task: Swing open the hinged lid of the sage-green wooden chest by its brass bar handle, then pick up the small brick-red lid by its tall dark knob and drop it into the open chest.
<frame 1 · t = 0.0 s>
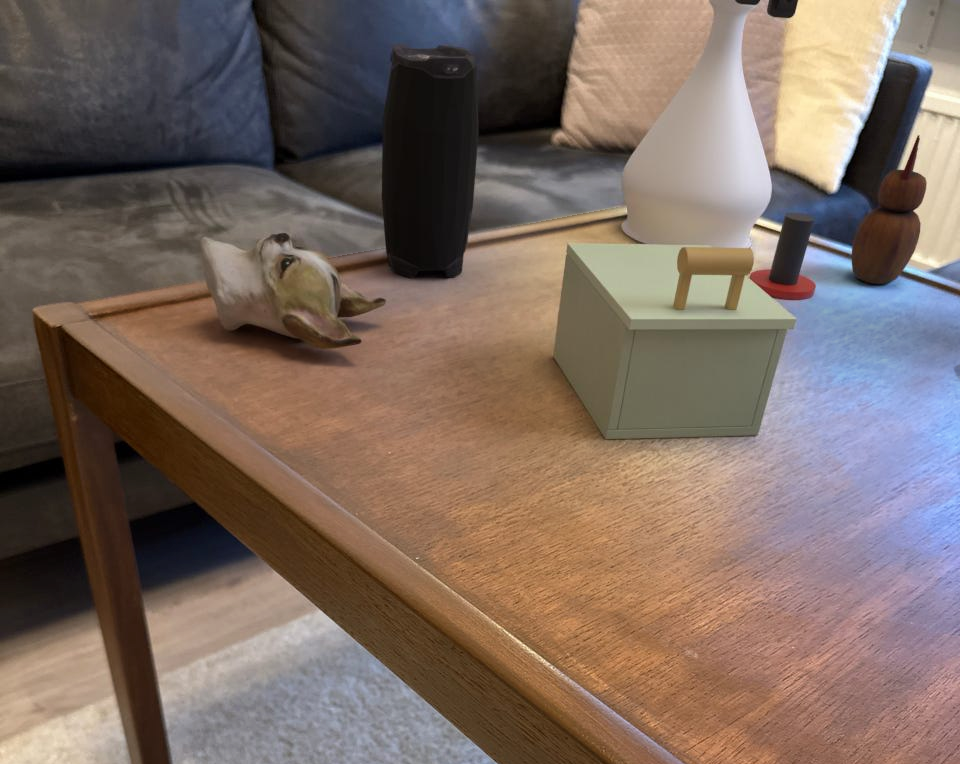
hand: (762, 10, 84), 25 cm above the table, tool pointing down, fingers open, 8 cm apart
ceramic sculpture: (291, 336, 85), on the table
portable speaker: (424, 269, 102), on the table
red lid: (780, 287, 105), on the table
chest: (649, 393, 81), on the table
wooden figurine: (872, 281, 110), on the table
vase: (685, 236, 118), on the table
chest lid: (679, 255, 74), point 11 cm above the table, hinge at 0.0°
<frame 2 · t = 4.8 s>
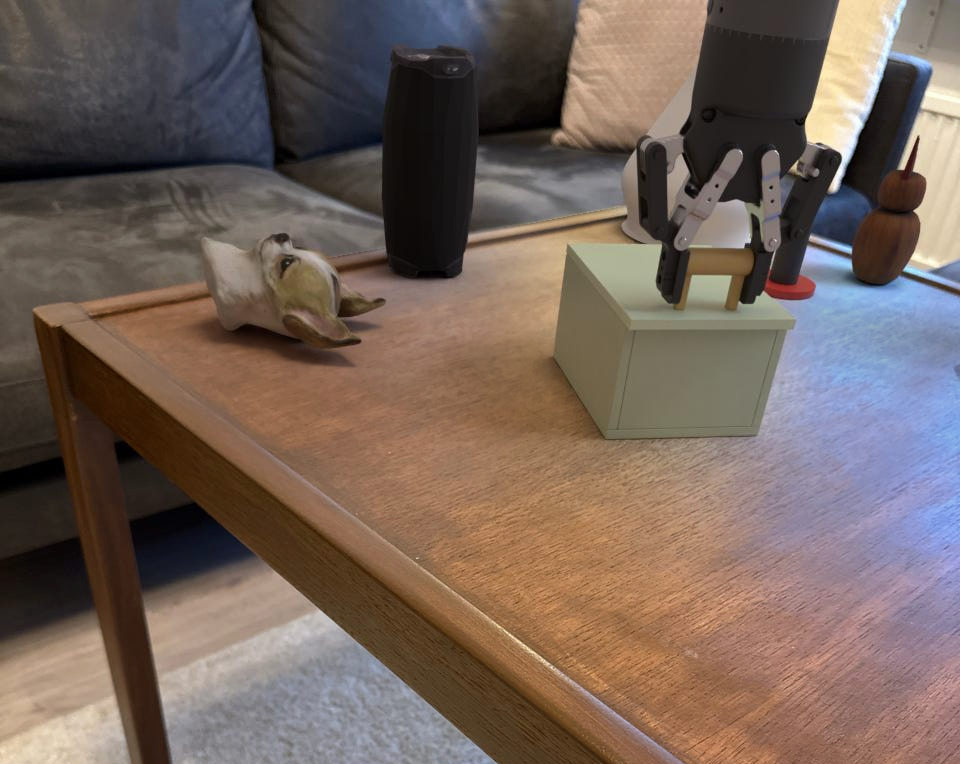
hand: (707, 299, 70), 10 cm above the table, tool pointing down, fingers closed on chest lid, 5 cm apart
chest lid: (679, 255, 74), point 11 cm above the table, hinge at -0.1°, touching gripper
everything else where it was.
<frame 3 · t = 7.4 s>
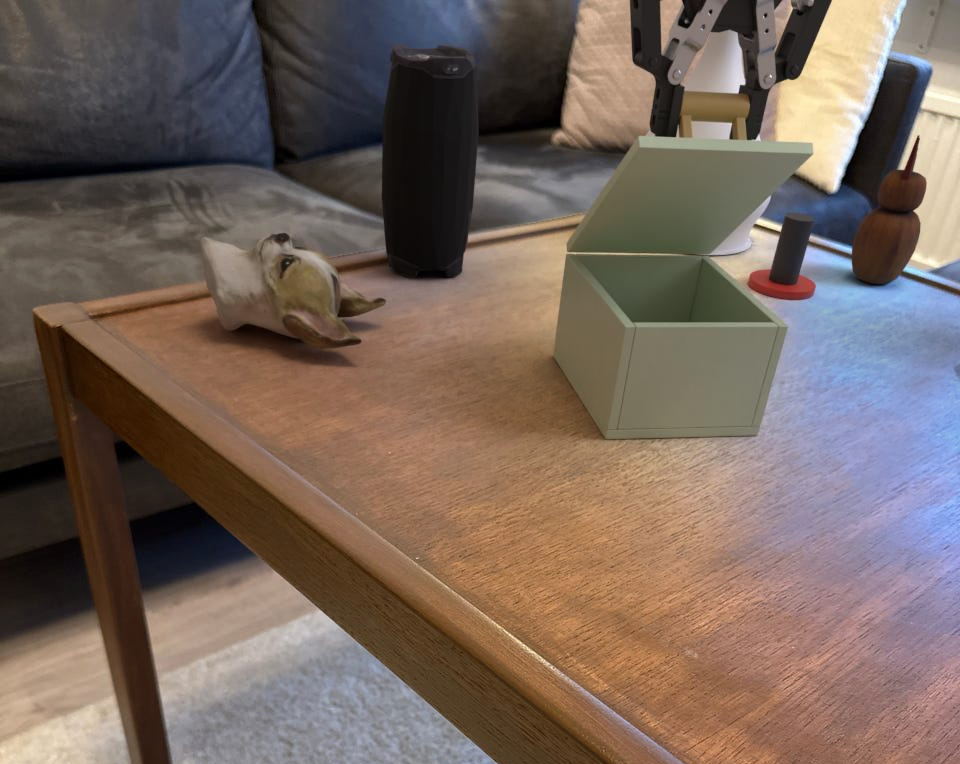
hand: (702, 143, 69), 19 cm above the table, tool pointing down, fingers closed on chest lid, 5 cm apart
chest lid: (676, 174, 74), point 16 cm above the table, hinge at 40.7°, touching gripper
everything else where it was.
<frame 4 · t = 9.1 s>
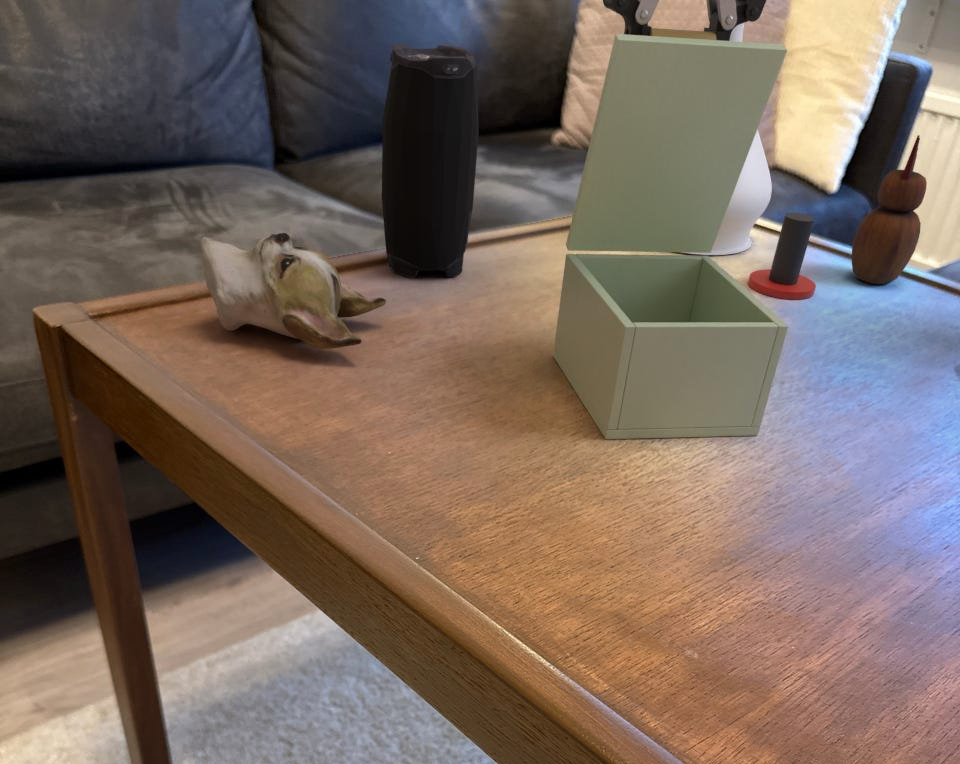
hand: (669, 83, 74), 21 cm above the table, tool pointing down, fingers closed on chest lid, 5 cm apart
chest lid: (660, 139, 76), point 18 cm above the table, hinge at 72.0°, touching gripper
everything else where it was.
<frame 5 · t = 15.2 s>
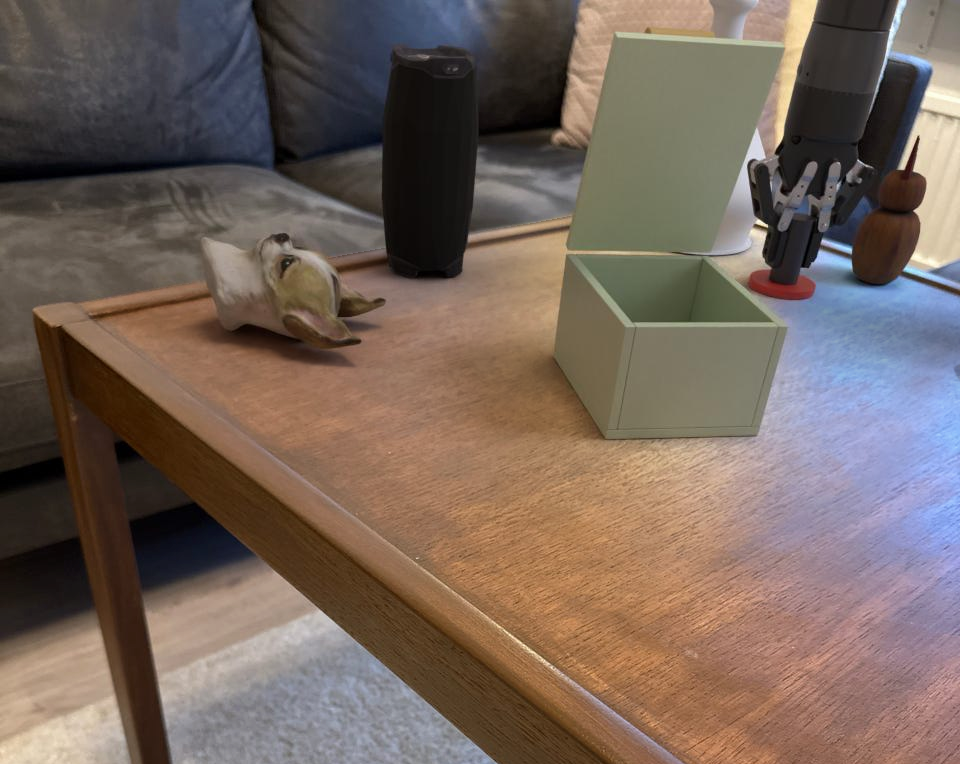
hand: (787, 264, 104), 2 cm above the table, tool pointing down, fingers closed on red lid, 3 cm apart
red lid: (780, 287, 105), on the table, touching gripper
chest lid: (660, 138, 76), point 18 cm above the table, hinge at 73.1°
everything else where it was.
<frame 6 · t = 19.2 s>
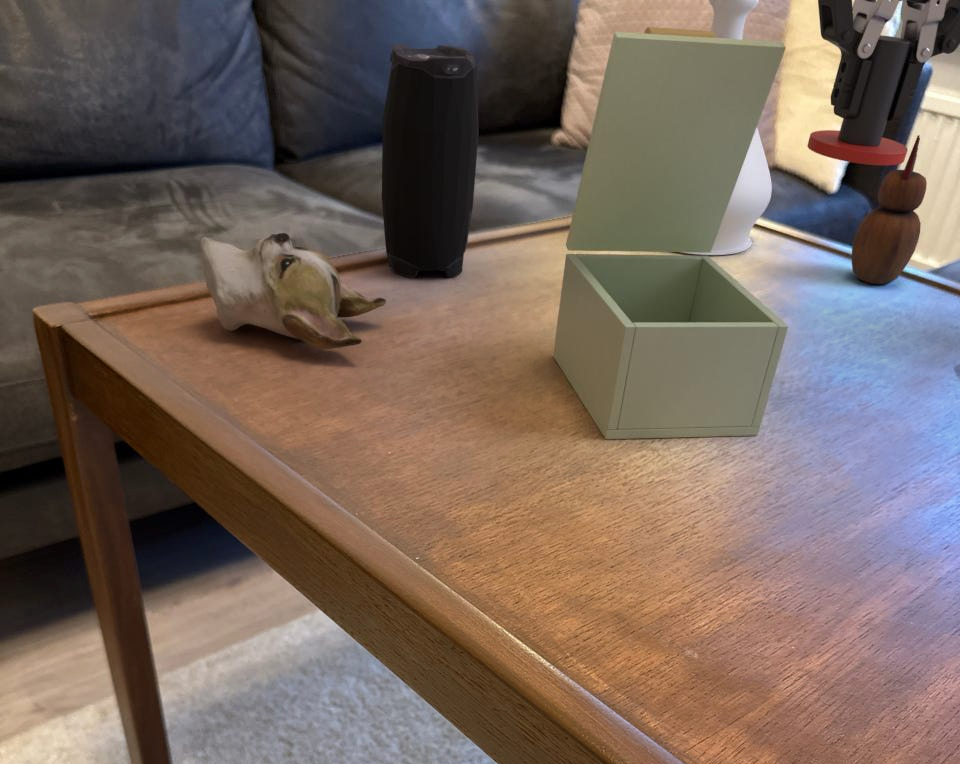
hand: (866, 116, 71), 21 cm above the table, tool pointing down, fingers closed on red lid, 3 cm apart
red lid: (855, 153, 72), point 19 cm above the table, touching gripper
everything else where it was.
when the fingers open (10 cm above the table, at t = 23.3 s): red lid drops 7 cm, resting on chest.
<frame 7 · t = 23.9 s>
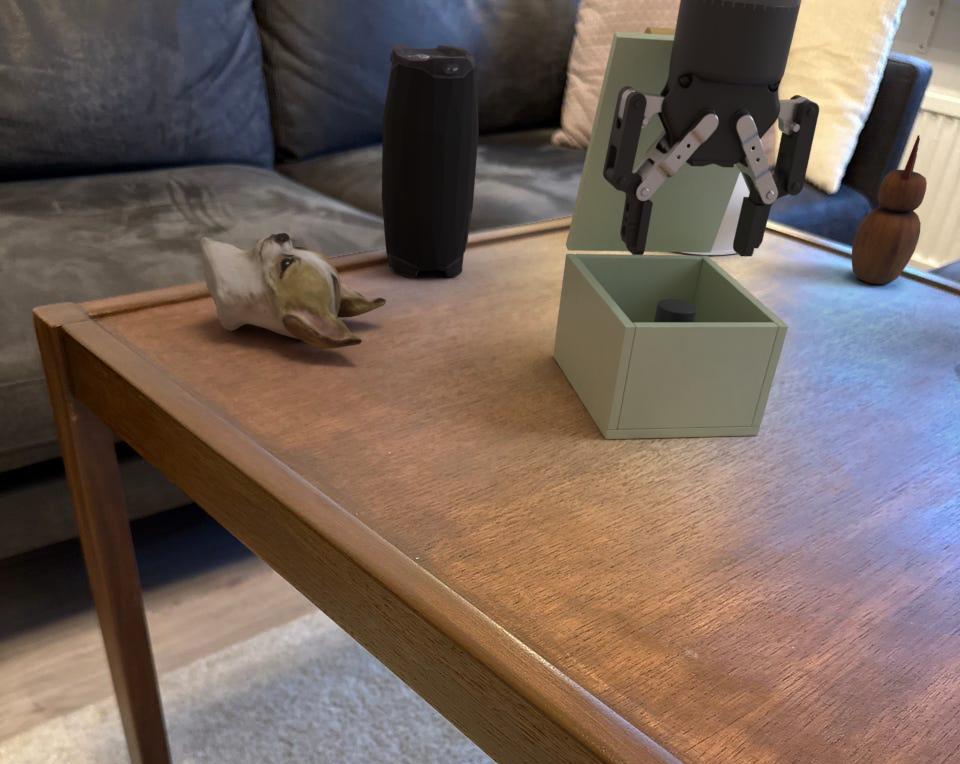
hand: (688, 252, 72), 12 cm above the table, tool pointing down, fingers open, 8 cm apart
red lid: (658, 395, 79), point 1 cm above the table, touching chest
everything else where it was.
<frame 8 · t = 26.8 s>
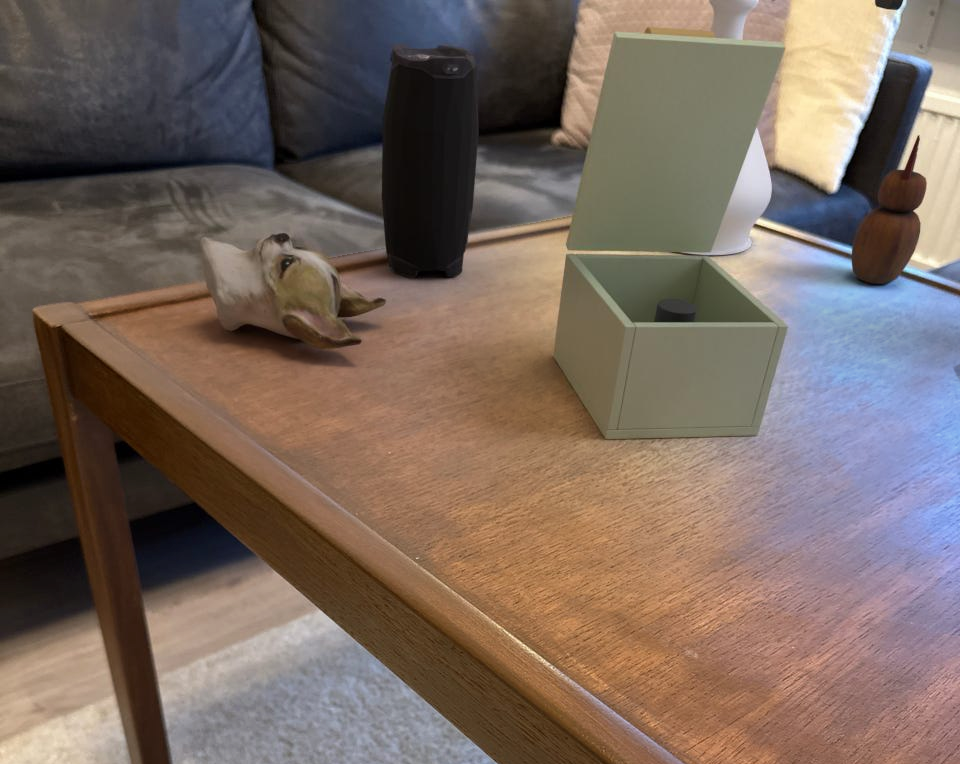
hand: (826, 3, 62), 28 cm above the table, tool pointing down, fingers open, 8 cm apart
nothing on the table moved.
at the end: chest lid at +73° (first picture: +0°); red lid inside the target area in the chest (2.0 cm from its centre), point 0.8 cm above the chest's base; the gripper is holding nothing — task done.
